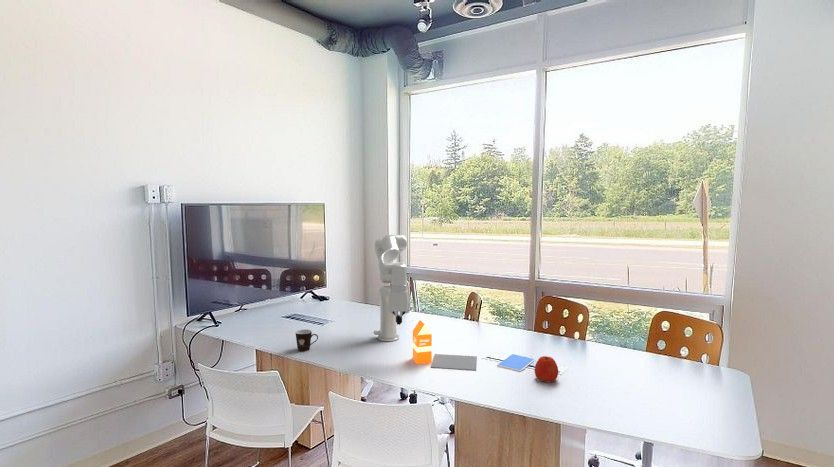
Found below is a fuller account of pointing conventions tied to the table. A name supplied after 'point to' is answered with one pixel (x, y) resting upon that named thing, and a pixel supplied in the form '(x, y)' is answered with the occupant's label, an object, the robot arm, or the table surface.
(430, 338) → the orange juice
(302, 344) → the coffee mug
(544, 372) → the apple
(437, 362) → the mat
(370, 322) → the table surface
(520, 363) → the tablet computer
